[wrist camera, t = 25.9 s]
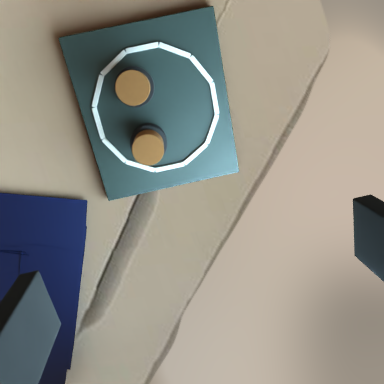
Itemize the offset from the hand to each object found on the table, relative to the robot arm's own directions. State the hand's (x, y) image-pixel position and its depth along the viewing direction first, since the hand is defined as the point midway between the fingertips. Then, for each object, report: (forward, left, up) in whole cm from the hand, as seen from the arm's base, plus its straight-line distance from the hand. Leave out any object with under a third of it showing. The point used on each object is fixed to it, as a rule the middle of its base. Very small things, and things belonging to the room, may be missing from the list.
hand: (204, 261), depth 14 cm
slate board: (+1, -4, -27) cm, 27 cm away
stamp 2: (+3, -1, -26) cm, 26 cm away
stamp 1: (+3, -7, -26) cm, 27 cm away
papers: (+28, +14, -27) cm, 41 cm away
